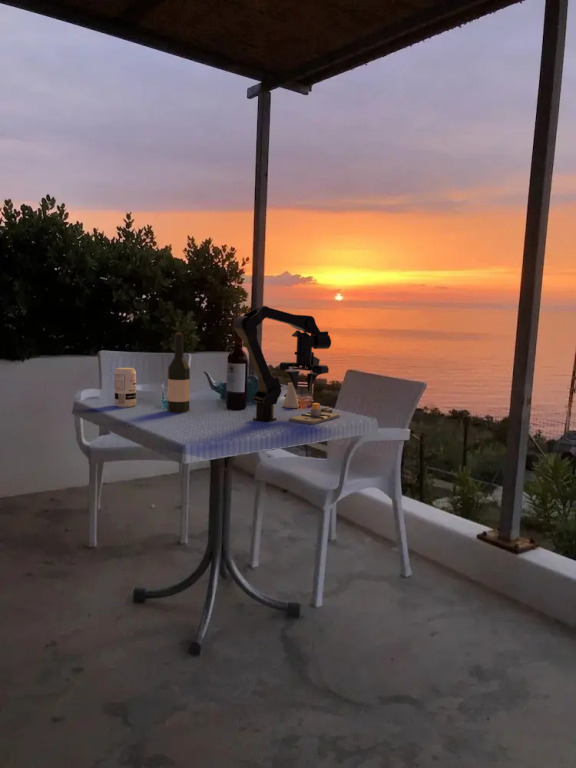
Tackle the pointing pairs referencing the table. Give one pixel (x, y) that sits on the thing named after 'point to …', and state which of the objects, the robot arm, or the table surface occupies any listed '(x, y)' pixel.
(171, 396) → the wine bottle
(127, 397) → the supplement can
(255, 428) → the table surface
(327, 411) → the cables
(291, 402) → the flask
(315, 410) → the toggle
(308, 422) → the panel
